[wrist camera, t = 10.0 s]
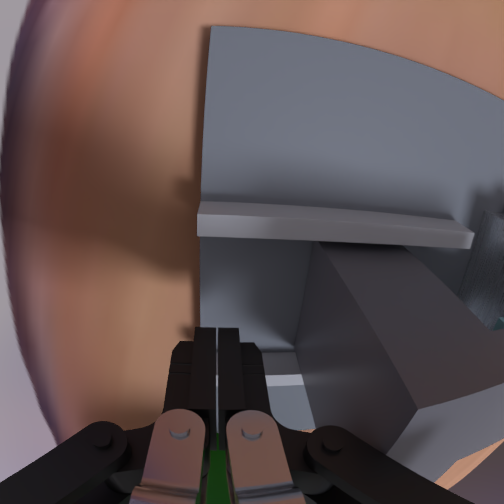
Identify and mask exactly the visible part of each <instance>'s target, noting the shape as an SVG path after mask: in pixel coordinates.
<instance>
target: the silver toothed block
mask: <svg viewBox="0 0 504 504" xmlns="http://www.w3.org/2000/svg"><path fill="white" fill-rule="evenodd" d="M457 297H458V298H459V299H460V300H461V301H462V302H463V303H464V304H465V305H466V306H467V307H468V308H469V309H470V310H471V311H472V312H473V313H474V314H475V315H476V316H477V318H478V319H479V320H480V321H481V322H482V323H483V324H484V325H485V326H486V327H487V328H488V329H489V330H490V331H493V329H494V327H495V325H496V322H497V320H498V318H500V317H504V213H499V212H494V211H489V210H484V211H483V215H482V219H481V223H480V227H479V230H478V234H477V237H476V241H475V244H474V247H473V250H472V254H471V257H470V260H469V263H468V266H467V269H466V272H465V275H464V277H463V280H462V283H461V286H460V288H459V291H458V293H457Z"/></svg>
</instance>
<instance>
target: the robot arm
mask: <svg viewBox="0 0 504 504" xmlns="http://www.w3.org/2000/svg"><path fill="white" fill-rule="evenodd" d="M170 363H171V364H170V368H169V375H168V381H167V388H166V395H165V401H164V408H163V412H162V414H161V415H160V416H159V418H158V419H157V420H156V421H155V422H154V423H153V424H151V425H149V426H146V427H143V428H139V429H133V430H126V431H123V430H122V428H121V427H119V426H118V425H116V424H114V423H111V422H107V421H99V422H95V423H92V424H90V425H88V426H87V427H85V428H84V429H82V430H81V431H79V432H78V433H76V434H75V435H73V436H72V437H71V438H69V439H68V440H66V441H65V442H63V443H62V444H60V445H59V446H57V447H55V448H54V449H52V450H51V451H49V452H48V453H46V454H45V455H43V456H42V457H40V458H39V459H37V460H35V461H34V462H32V463H31V464H29V465H28V466H26V467H25V468H23V469H21V470H20V471H18V472H17V473H15V474H13V475H12V476H10V477H8V478H7V479H5V480H4V481H2V482H1V483H0V504H206V502H207V489H208V477H209V469H210V450H216V451H217V425H216V327H195V335H194V341H180V342H179V343H178V344H177V345H176V347H175V348H174V349H173V351H172V356H171V362H170ZM218 430H219V450H225V455H226V476H227V483H228V490H229V497H230V503H231V504H306V503H307V504H474V503H472V502H470V501H468V500H466V499H464V498H462V497H460V496H458V495H456V494H454V493H452V492H450V491H448V490H446V489H445V488H443V487H441V486H439V485H437V484H435V483H433V482H432V481H430V480H428V479H426V478H424V477H423V476H421V475H419V474H417V473H416V472H414V471H412V470H410V469H409V468H407V467H405V466H403V465H402V464H400V463H398V462H397V461H395V460H393V459H392V458H390V457H388V456H387V455H385V454H384V453H382V452H380V451H379V450H377V449H375V448H374V447H372V446H371V445H369V444H368V443H366V442H364V441H363V440H361V439H360V438H358V437H357V436H355V435H354V434H352V433H351V432H349V431H348V430H346V429H344V428H342V427H339V426H333V425H327V426H322V427H319V428H317V429H315V430H314V431H313V432H312V433H308V432H302V431H297V430H293V429H289V428H287V427H285V426H283V425H281V424H280V423H279V422H278V421H277V420H276V419H275V418H274V417H273V415H272V413H271V408H270V402H269V396H268V389H267V383H266V377H265V370H264V366H263V358H262V352H261V351H260V349H259V348H258V347H257V346H256V344H255V343H254V342H240V335H239V328H224V327H218Z"/></svg>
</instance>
